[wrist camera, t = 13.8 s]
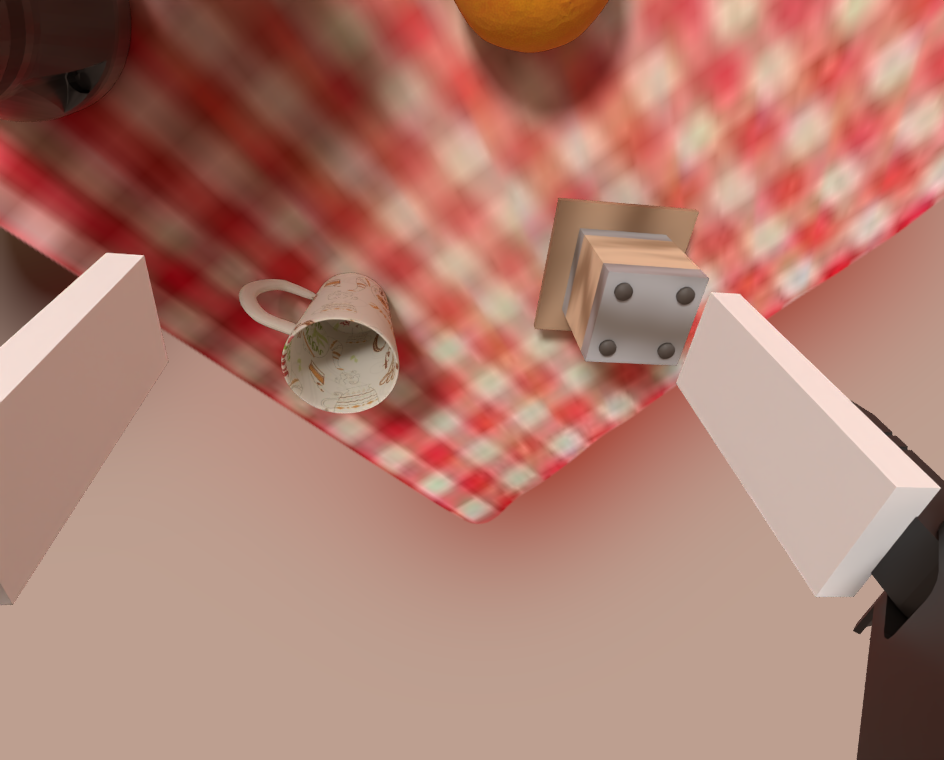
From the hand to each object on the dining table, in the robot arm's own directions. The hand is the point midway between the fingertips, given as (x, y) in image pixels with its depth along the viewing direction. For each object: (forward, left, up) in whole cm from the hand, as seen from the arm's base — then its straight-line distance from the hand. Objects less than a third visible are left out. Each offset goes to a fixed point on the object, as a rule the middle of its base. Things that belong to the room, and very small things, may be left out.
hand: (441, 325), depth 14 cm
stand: (+16, -11, -33) cm, 38 cm away
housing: (+16, -11, -30) cm, 35 cm away
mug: (-7, -16, -33) cm, 37 cm away
